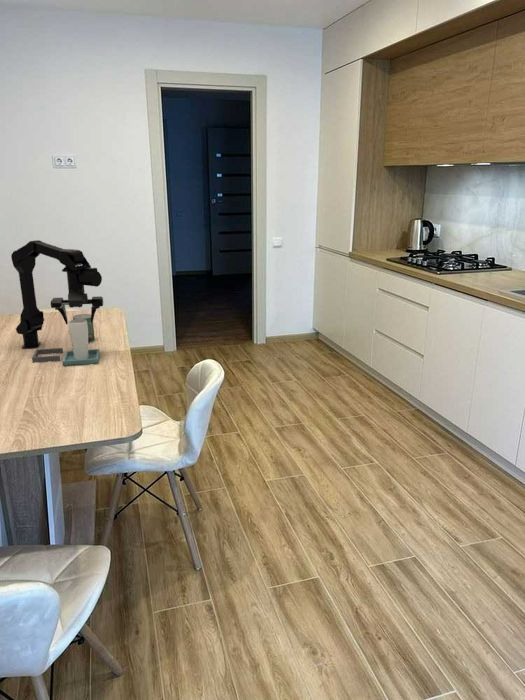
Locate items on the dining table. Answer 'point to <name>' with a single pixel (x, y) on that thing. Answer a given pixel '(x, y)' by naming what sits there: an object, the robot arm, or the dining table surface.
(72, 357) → the tray
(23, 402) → the dining table surface
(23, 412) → the dining table surface
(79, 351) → the drinking glass
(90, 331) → the canned tomato
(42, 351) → the dock
